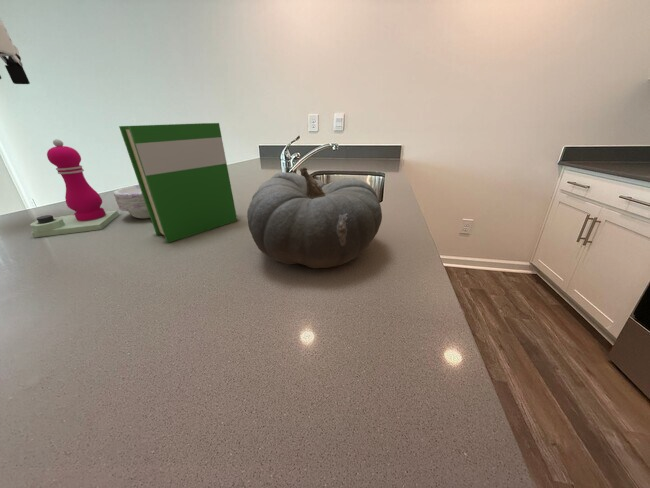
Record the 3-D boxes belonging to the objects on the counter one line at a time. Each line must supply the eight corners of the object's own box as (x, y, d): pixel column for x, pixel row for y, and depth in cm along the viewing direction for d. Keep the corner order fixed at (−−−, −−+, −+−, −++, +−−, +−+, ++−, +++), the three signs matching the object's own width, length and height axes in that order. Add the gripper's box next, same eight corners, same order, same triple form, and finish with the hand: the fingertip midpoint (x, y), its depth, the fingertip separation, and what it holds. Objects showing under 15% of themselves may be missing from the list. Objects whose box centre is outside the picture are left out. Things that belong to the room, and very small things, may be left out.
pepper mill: (68, 220, 69) (28, 140, 60) (98, 211, 75) (65, 138, 66) (84, 223, 67) (45, 140, 58) (113, 214, 73) (82, 138, 64)
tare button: (36, 225, 63) (33, 219, 62) (43, 221, 65) (40, 215, 64) (51, 223, 63) (47, 217, 63) (57, 220, 66) (54, 214, 65)
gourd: (258, 218, 63) (260, 144, 54) (357, 228, 67) (373, 160, 58) (237, 286, 42) (233, 184, 33) (382, 295, 46) (414, 206, 37)
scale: (31, 238, 62) (24, 227, 61) (59, 221, 73) (54, 211, 71) (101, 229, 66) (96, 218, 65) (119, 214, 77) (115, 205, 75)
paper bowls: (172, 202, 87) (165, 179, 83) (190, 212, 77) (183, 186, 73) (118, 214, 77) (107, 188, 73) (130, 227, 67) (118, 197, 64)
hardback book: (168, 242, 58) (129, 126, 47) (156, 234, 63) (118, 126, 52) (237, 220, 70) (219, 123, 59) (223, 214, 74) (204, 123, 64)
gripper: (-26, 2, 62) (14, 85, 69) (-107, -35, 47) (-45, 76, 54) (14, 5, 64) (48, 85, 71) (-52, -30, 49) (1, 76, 56)
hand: (8, 81), depth 63 cm, fingers open, 9 cm apart
